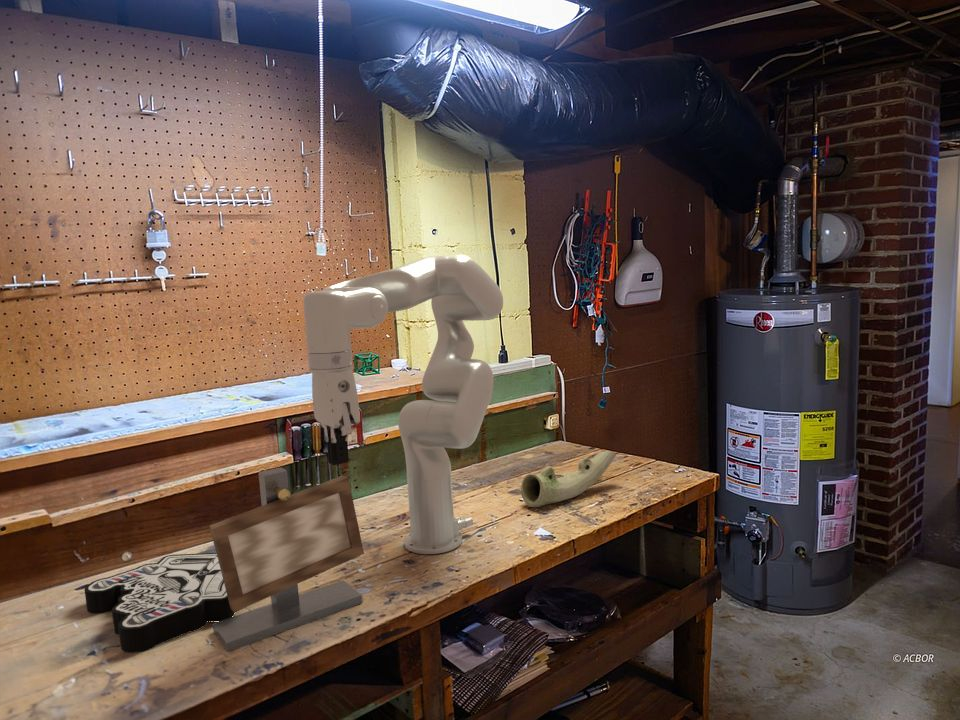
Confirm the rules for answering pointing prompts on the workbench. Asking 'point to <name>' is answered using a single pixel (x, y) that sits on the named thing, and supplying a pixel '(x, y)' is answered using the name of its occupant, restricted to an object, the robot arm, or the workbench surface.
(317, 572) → the picture frame
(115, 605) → the decorative sign
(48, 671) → the workbench surface
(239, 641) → the tabletop sign stand
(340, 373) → the robot arm
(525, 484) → the pipe
